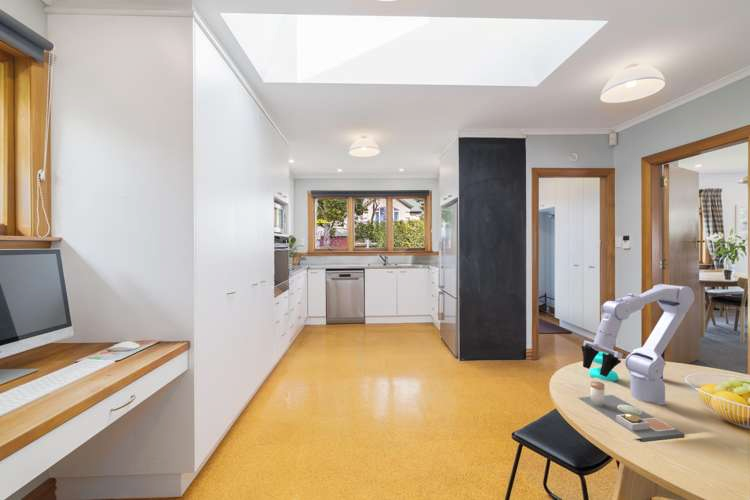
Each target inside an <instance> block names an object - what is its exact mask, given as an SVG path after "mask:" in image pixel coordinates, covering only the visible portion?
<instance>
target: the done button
mask: <svg viewBox="0 0 750 500" xmlns="http://www.w3.org/2000/svg"><path fill="white" fill-rule="evenodd" d="M625 419H626V420H628V421H629V422H631V423H640V416H639V415H638V414H635V413H632V412H625Z"/></svg>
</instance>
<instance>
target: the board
mask: <svg viewBox="0 0 750 500" xmlns="http://www.w3.org/2000/svg"><path fill="white" fill-rule="evenodd" d="M578 399H579V400H580V401H581V402H583V403H585V404H586V405H588V406H590V407H592V408H593V409H594V410H596V411H598V413H601V414H602V415H604V416H605V417H607V418H609V419H611V420H612V421H613V422H615V423H616V424H618V425H621V427H623V428H624V429H627V430H628V431H629V432H631V433H633V434H635V435H636V436H637V440H638V441H639V442H641V443H644V442H645V443H646V442H656V441H665V440H674V439H675V440H677V439H685V438H686V437H685V436H686V435H685V432H682V431H681V430H679V429H677V428H675V427H673V426H671V425H669V424H667V423H666V422H664V421H663V420H661V419H659V418H657V417H654V416H653V415H651V414H649V413H647V412H645V411H643V410H641V409H640V408H637V407H636V406H634V405H632V404H630V403H628V402H627V401H625V400H622V399H621V398H619V397H617V396H616V395H614V394H610V395H609V394H608V395H604V406H595V405H593V404H591V396H585V397H584V396H583V397H578ZM625 412H632V413H635V414H638V415H639V416H640V423H631V422H629V421H628V420H626V419H625ZM638 437H640V438H638Z"/></svg>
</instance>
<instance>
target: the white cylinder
mask: <svg viewBox="0 0 750 500" xmlns="http://www.w3.org/2000/svg"><path fill="white" fill-rule="evenodd" d="M604 396H605V383H603V382H601V381H596V380H592V381H590V397H591V404H593V405H595V406H604Z"/></svg>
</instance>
